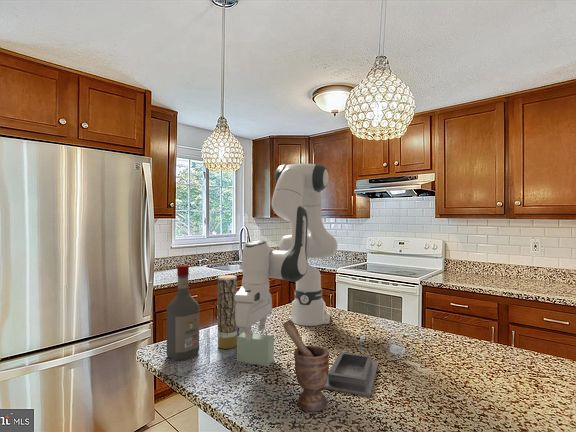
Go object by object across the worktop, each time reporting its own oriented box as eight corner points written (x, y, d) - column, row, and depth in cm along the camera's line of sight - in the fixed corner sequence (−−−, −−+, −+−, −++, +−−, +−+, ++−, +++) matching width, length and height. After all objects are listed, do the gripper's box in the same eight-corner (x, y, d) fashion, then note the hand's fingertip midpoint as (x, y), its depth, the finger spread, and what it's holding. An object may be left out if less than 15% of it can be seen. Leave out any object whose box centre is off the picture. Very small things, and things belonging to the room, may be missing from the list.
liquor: (202, 354, 115) (202, 265, 115) (178, 363, 108) (178, 268, 108) (186, 347, 121) (186, 263, 121) (163, 355, 114) (163, 266, 114)
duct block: (243, 356, 114) (243, 332, 114) (273, 360, 110) (273, 336, 110) (236, 361, 109) (236, 336, 109) (268, 366, 106) (268, 340, 106)
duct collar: (336, 359, 111) (336, 349, 111) (378, 365, 106) (377, 354, 106) (321, 388, 92) (321, 376, 92) (370, 396, 87) (370, 383, 87)
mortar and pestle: (280, 412, 80) (280, 327, 81) (284, 393, 89) (283, 317, 89) (329, 414, 79) (329, 329, 80) (328, 395, 88) (328, 318, 88)
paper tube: (232, 350, 118) (232, 278, 118) (214, 349, 120) (214, 278, 120) (239, 343, 125) (239, 275, 125) (222, 342, 126) (222, 274, 127)
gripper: (260, 285, 120) (260, 324, 120) (231, 296, 101) (231, 343, 101) (276, 286, 118) (276, 326, 118) (250, 298, 99) (250, 346, 99)
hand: (255, 334), depth 109 cm, fingers open, 8 cm apart
